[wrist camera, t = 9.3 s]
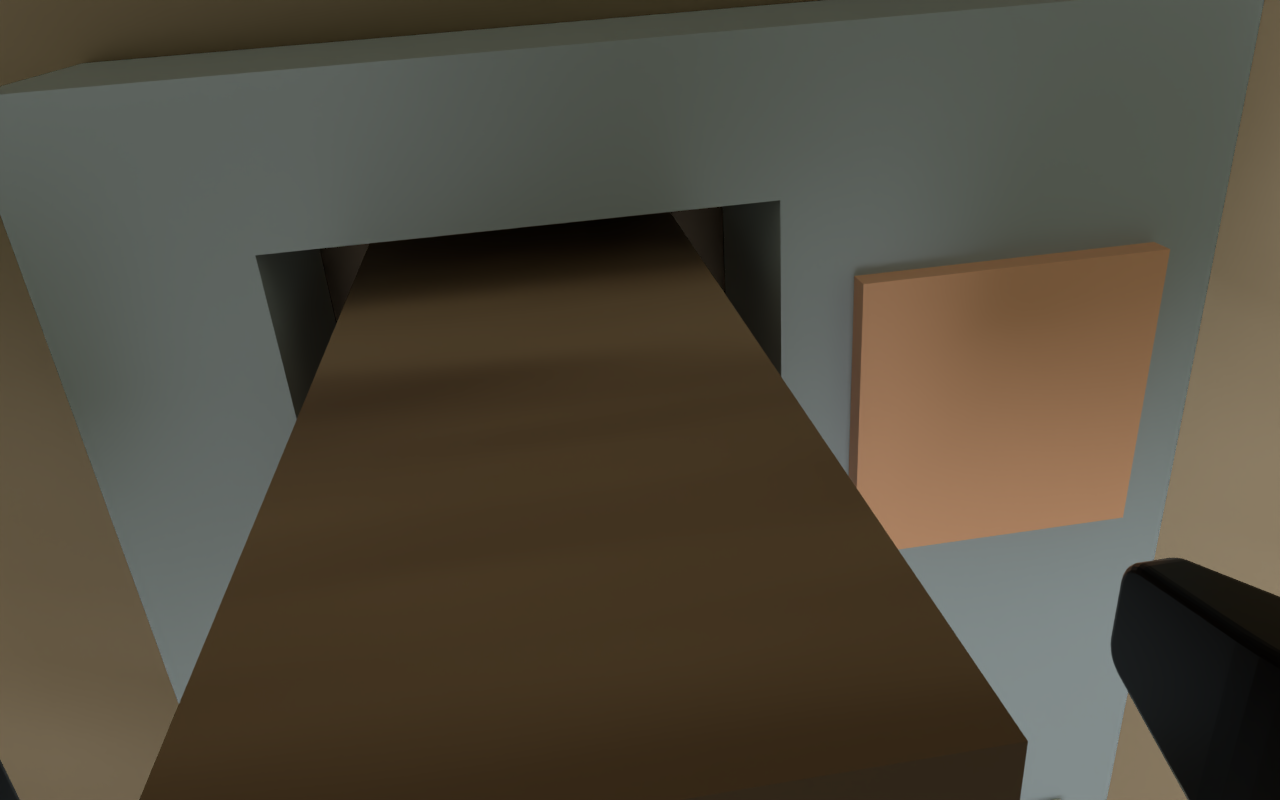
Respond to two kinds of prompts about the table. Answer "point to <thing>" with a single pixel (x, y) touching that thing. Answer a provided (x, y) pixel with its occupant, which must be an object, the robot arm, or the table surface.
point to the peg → (571, 561)
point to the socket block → (753, 257)
